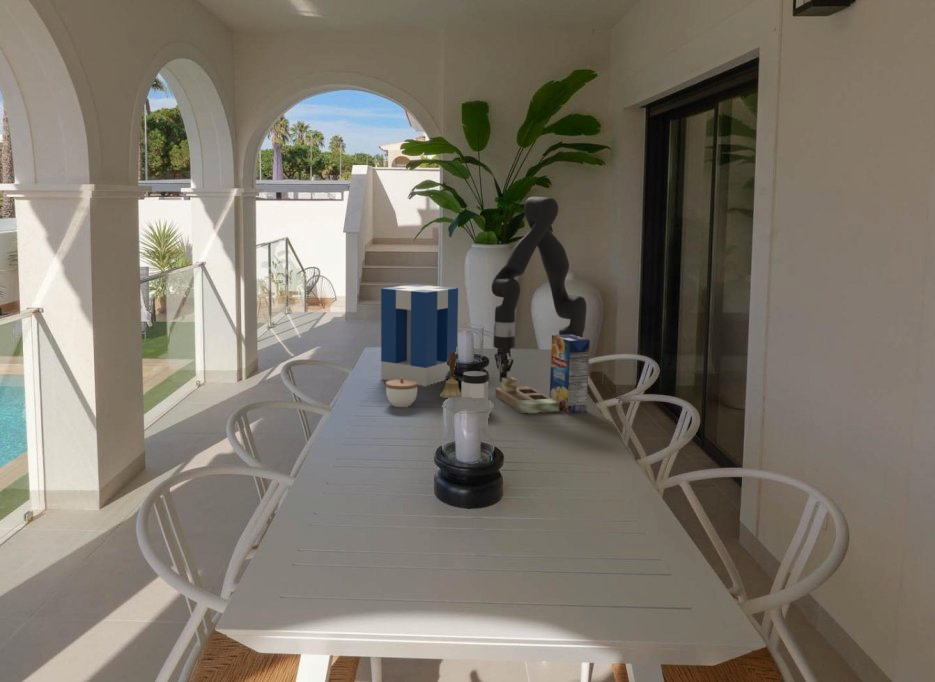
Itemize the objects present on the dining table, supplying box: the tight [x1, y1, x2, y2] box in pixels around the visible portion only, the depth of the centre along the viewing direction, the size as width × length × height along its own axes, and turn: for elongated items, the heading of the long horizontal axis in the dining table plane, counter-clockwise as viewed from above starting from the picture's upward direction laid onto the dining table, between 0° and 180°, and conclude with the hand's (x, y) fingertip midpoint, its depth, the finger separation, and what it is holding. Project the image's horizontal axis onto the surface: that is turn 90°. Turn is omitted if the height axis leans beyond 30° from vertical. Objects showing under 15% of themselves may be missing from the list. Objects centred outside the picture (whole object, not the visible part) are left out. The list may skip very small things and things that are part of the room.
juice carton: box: [549, 334, 591, 414], centre depth 264 cm, size 12×8×24 cm, turn 23°
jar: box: [460, 370, 489, 400], centre depth 261 cm, size 9×8×12 cm
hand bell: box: [439, 352, 461, 399], centre depth 278 cm, size 8×8×16 cm
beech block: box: [501, 376, 518, 391], centre depth 277 cm, size 4×4×4 cm
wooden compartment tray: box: [494, 385, 560, 414], centre depth 271 cm, size 13×25×3 cm, turn 19°
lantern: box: [380, 284, 459, 387], centre depth 305 cm, size 21×21×35 cm
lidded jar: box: [385, 378, 419, 408], centre depth 265 cm, size 11×11×9 cm
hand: (503, 382), depth 282 cm, fingers closed
